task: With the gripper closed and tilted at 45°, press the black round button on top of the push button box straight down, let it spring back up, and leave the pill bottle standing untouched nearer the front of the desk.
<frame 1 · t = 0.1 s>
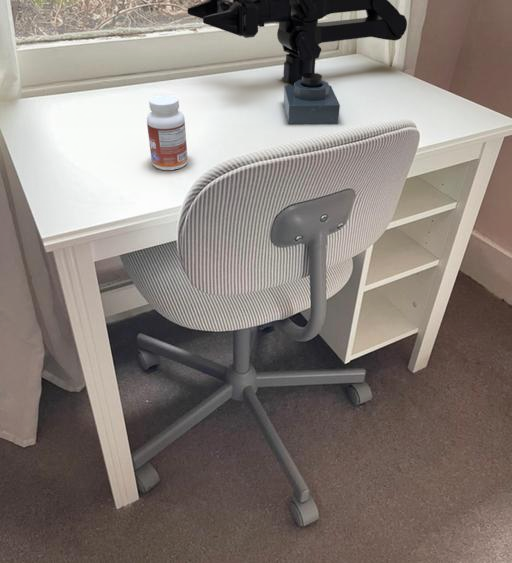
hand: (195, 15, 109), 17 cm above the table, tool horizontal, fingers open, 9 cm apart
black round button: (311, 81, 108), point 7 cm above the table, slide at 0.1 cm
push button box: (309, 113, 112), on the table
pill bottle: (170, 164, 93), on the table
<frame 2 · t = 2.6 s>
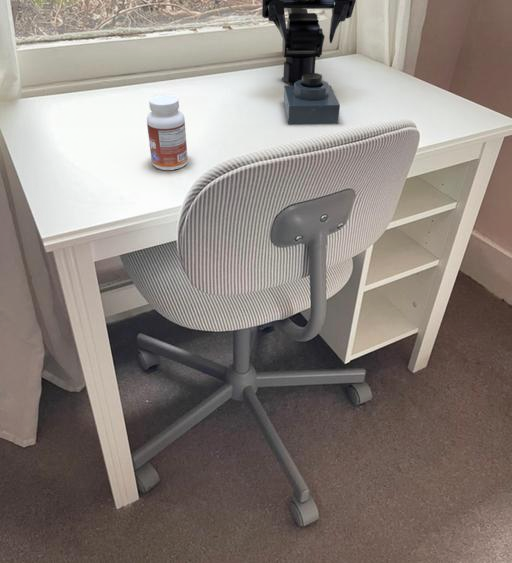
hand: (308, 41, 108), 13 cm above the table, tool tilted 45°, fingers open, 9 cm apart
nothing on the table moved.
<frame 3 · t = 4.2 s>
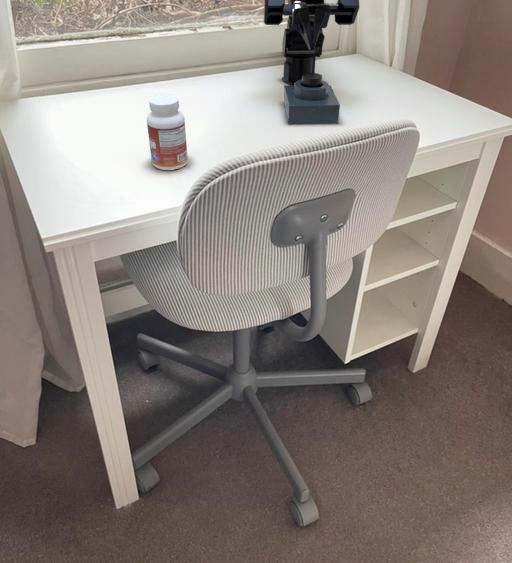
hand: (312, 49, 107), 12 cm above the table, tool tilted 45°, fingers closed
nothing on the table moved.
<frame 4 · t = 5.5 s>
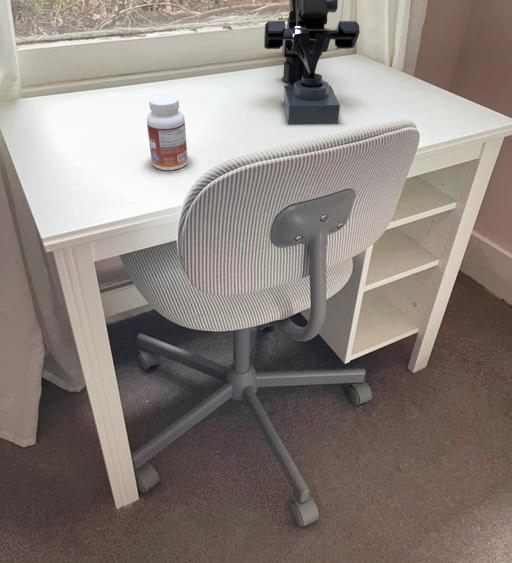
hand: (312, 74, 107), 8 cm above the table, tool tilted 45°, fingers closed, pressing on black round button
black round button: (311, 81, 108), point 7 cm above the table, slide at 0.0 cm, touching gripper
everything else where it was.
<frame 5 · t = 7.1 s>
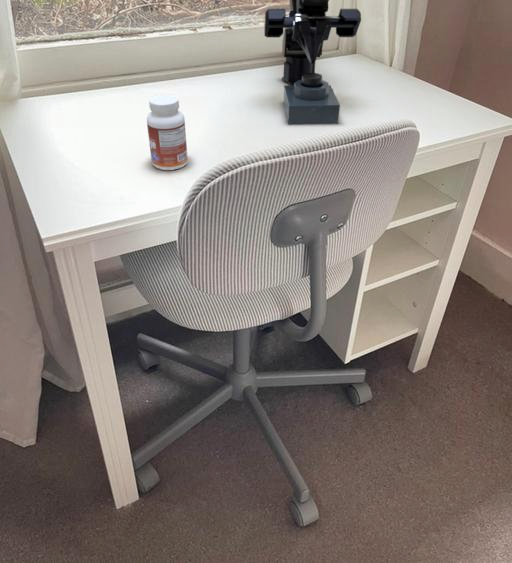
hand: (313, 62, 106), 10 cm above the table, tool tilted 45°, fingers closed
black round button: (311, 81, 108), point 7 cm above the table, slide at 0.1 cm
everything else where it was.
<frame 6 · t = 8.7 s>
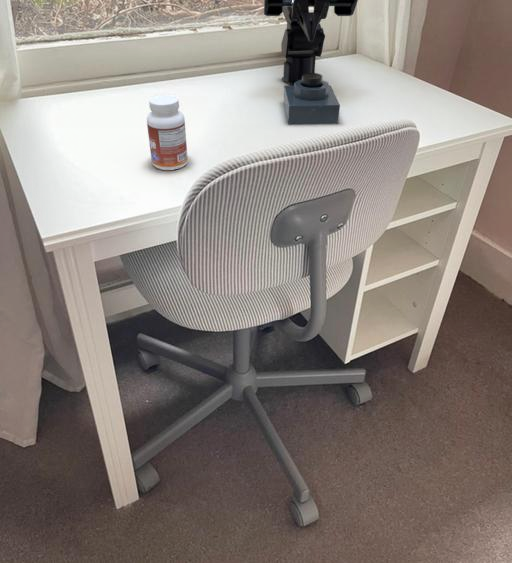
hand: (311, 40, 108), 13 cm above the table, tool tilted 45°, fingers closed
nothing on the table moved.
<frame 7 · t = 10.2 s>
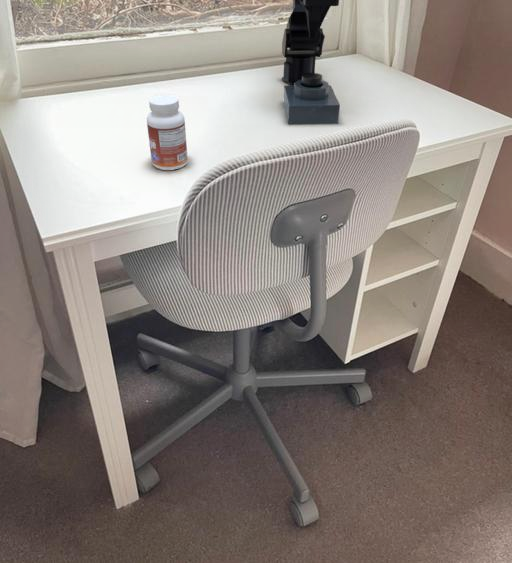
hand: (312, 38, 109), 13 cm above the table, tool pointing down, fingers closed
nothing on the table moved.
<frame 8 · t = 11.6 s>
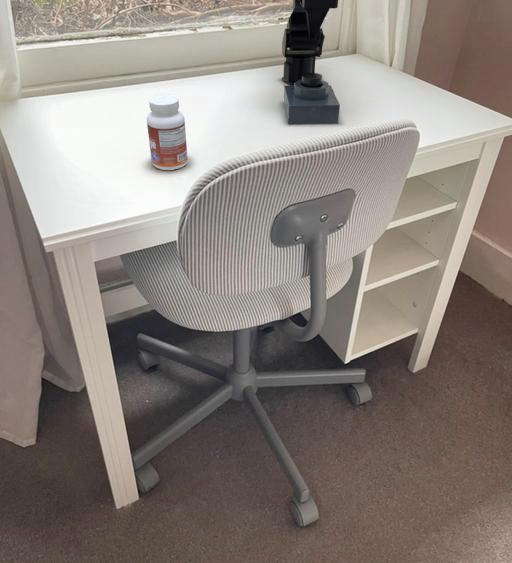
hand: (312, 38, 109), 13 cm above the table, tool pointing down, fingers closed
nothing on the table moved.
at the end: black round button pushed in 1.2 cm at the most during the clip, back to where it started at the end; black round button slide at 0.1 cm; pill bottle moved 0.2 cm from its start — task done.
